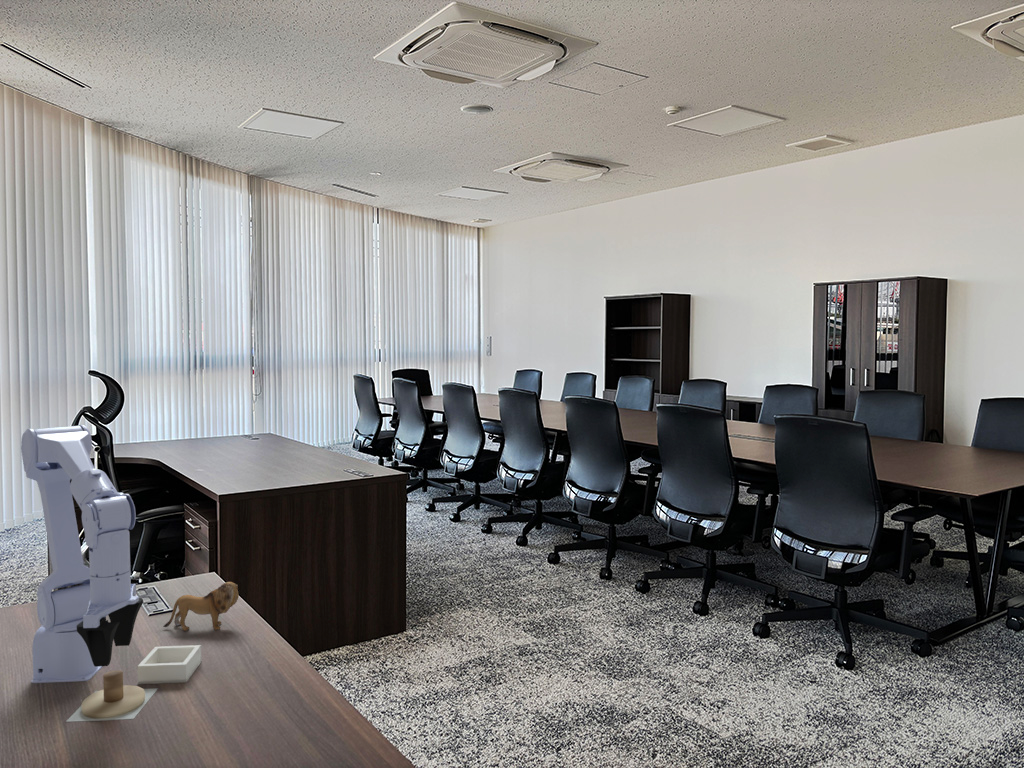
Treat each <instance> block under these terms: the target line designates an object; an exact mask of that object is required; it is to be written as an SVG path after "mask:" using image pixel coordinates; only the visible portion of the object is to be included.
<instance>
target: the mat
mask: <svg viewBox="0 0 1024 768" xmlns="http://www.w3.org/2000/svg"><path fill="white" fill-rule="evenodd" d="M143 689H144V691H145V700H144V702H143V704H142V705H141V706H139V707H138V708H136V709H135V710H133V711H131V712H128V713H126V714H123V715H120V716H116V717H111V718H102V719H96V718H89V717H86V716H84V715H83V714H82V704H81V705H80V706H79V708H77V709H76V710H75V711H74V712H73V713H72V715H71V716H69V718H67V720H65V723H77V722H97V721H98V722H99V721H101V722H102V721H120V720H122V721H123V720H134V719H135V718H136V716H137V715H139V713H140V712H141V710H143V708H144V707H145V705H147V703H148V701H150V699H151V698H152V697H153V695H154V694H155V693H156V692H157V691H158V690H159V688H143ZM98 691H99V690H95V691H94V692H93V693H95V692H98Z"/></svg>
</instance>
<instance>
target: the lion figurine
mask: <svg viewBox="0 0 1024 768" xmlns="http://www.w3.org/2000/svg"><path fill="white" fill-rule="evenodd" d="M238 590H239V588H238V584H236V583H234V582H232V581H226V582H224V583H222V584H221V585H220V586H218V588H216V589H214V590H212V591H210V592H209V593H207V594H206V595H204V596H195V595H192V594H185V595H181V596H179V597H178V598H177V599H176V600H175V603H174V604H173V608H172V612H171V616H170V619H169V621H167V622H166V623H165V624H164V625H163V628H168V627H169V626H170V625H171V623H172V621H173V620H174V625H175V626H181V629H182V631H183V632H186V631H187V632H188V631H189V630H190V626H186V622H185V621H186V619H187V615H188V612H189V611H191V612H192V613H194V614H196V615H199V616H202V615H203V616H205V615H210V616H211V621H212V628H213V629H214V630H215V631H219V630H220V629H221V626H220V625H222V621H220V620H219V616H220V615H221V614H226V613H228V611H229V609H230V608H232V607H233V606H234V605H235V604H237V603H238V599H239V596H240V595H239V591H238ZM177 609H178V611H177ZM176 612H177V613H176Z"/></svg>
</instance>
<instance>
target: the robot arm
mask: <svg viewBox="0 0 1024 768" xmlns="http://www.w3.org/2000/svg"><path fill="white" fill-rule="evenodd" d="M92 439H93V438H92V435H91V432H90V429H89V428H88V427H87V426H86V425H84V424H78V425H71V426H70V425H69V426H58V427H57V426H56V427H45V428H27V429H25V431H23V433H22V436H21V442H20V445H21V446H20V450H21V451H20V452H21V456H22V463H23V470H24V472H25V475H26V476H25V477H26V478H27V479H30V480H34V481H35V482H36V483H37V487H38V491H39V494H40V498H41V505H42V512H43V517H44V523H45V524H44V525H45V530H46V537H47V543H48V549H49V556H50V562H51V568H52V571H51V573H50V574H49V575H47V577H46V578H45V579H44V580H43V581H42V582H41V583H40V584H39V585H38V587H37V588H36V589H37V590H36V595H37V596H36V598H37V602H36V611H37V612H36V613H37V618H38V622H39V624H40V625H41V626H40V627H39V628H38V629H37V630H36V632H35V634H34V636H33V639H32V646H31V647H32V650H31V651H32V672H33V673H32V679H31V681H30V683H32V684H39V683H40V684H42V683H45V684H46V683H67V682H68V683H69V682H88V681H90V680H91V678H93V677H94V676H95V675H96V674H97V673H98V672H99V671H100V670H101V669H102V668H103V667H108V666H109V665H110V664H111V660H112V653H113V642H114V645H115V647H125V646H130V644H131V641H132V637H133V633H134V627H135V624H136V620H137V617H138V615H139V614H138V613H140V609H141V607H142V606H143V604H144V598H142V597H139V596H138V595H137V584H136V583H131V575H132V573H131V546H130V545H131V543H130V541H131V540H130V538H131V537H130V536H131V535H130V531H129V530H133V529H134V527H135V524H136V517H137V516H136V515H137V514H136V506H135V504H134V501H133V499H132V496H131V495H130V494H129V493H124V492H121V491H120V492H118V490H117V489H116V488H115V486H114V484H113V483H112V481H111V479H110V478H109V476H108V475H107V473H106V472H105V471H103V470H101V469H98V468H95V466H94V464H93V462H92V460H91V457H90V454H91V451H92V447H93V441H92ZM73 498H74V500H73ZM74 501H76V504H77V506H78V507H79V509H80V510H81V524H82V529H83V532H84V538H85V539H84V540H85V541H84V542H85V545H86V546H87V547H88V558H89V561H88V564H89V567H88V566H87V565H85V563H84V559H83V553H82V548H81V541H80V535H79V529H78V524H77V523H78V522H77V518H76V517H77V515H76V512H75V511H76V510H75V504H74ZM78 584H79V585H78ZM74 585H75V586H74ZM60 588H61V589H60ZM56 589H57V590H56ZM107 616H108V618H109V619H107Z"/></svg>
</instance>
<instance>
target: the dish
mask: <svg viewBox="0 0 1024 768" xmlns="http://www.w3.org/2000/svg"><path fill="white" fill-rule="evenodd" d="M201 663H202V645H201V644H198V645H196V644H195V645H191V644H190V645H166V646H165V645H164V646H162V645H161V646H154V648H152V650H150V652H149V653H148V654H147V655H146V656H145V657H144V659H142V660H141V662H140V663H139V664H138V665H137V685H148V684H149V685H150V684H153V685H154V684H155V685H156V684H178V683H179V684H181V683H187V682H188V681H189V680H190V678H191V677H192V676H193V674H194V673H195V671H196V670H197V669H198V667H199V666H200V664H201Z"/></svg>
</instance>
